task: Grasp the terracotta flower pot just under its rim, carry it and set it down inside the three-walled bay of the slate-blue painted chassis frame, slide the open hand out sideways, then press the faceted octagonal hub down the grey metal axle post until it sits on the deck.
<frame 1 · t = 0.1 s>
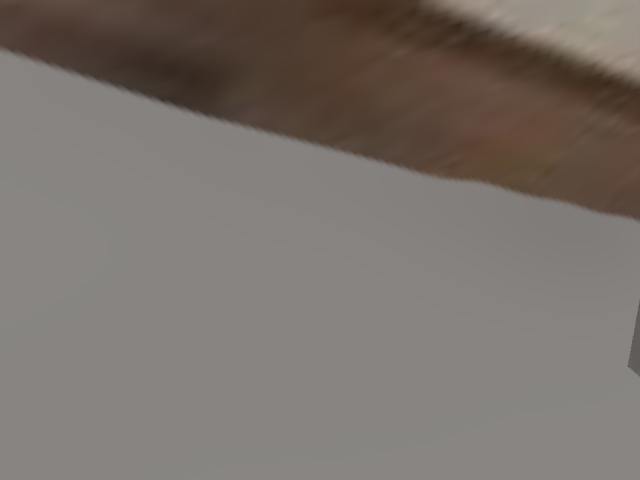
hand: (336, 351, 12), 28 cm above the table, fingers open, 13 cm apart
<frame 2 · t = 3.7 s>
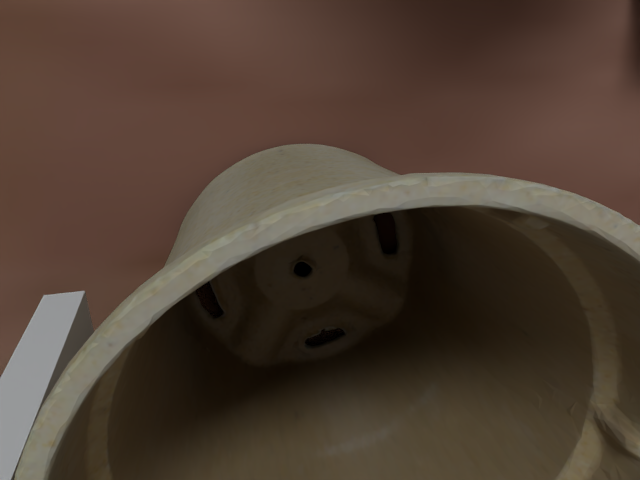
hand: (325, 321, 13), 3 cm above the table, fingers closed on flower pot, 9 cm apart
flower pot: (300, 259, 16), on the table, touching gripper
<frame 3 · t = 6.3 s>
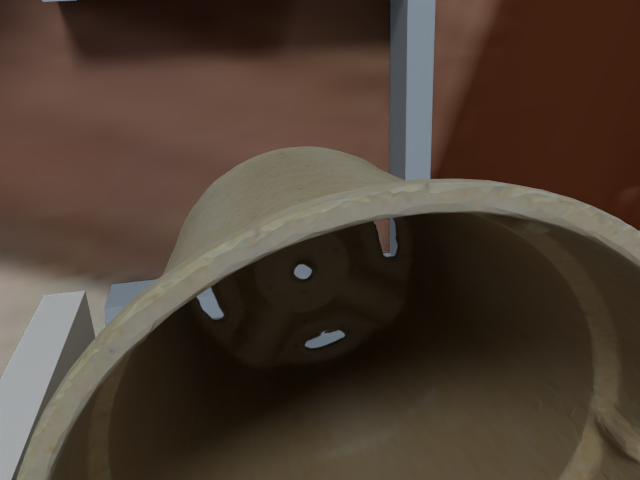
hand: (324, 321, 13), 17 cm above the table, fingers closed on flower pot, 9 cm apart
flower pot: (301, 261, 16), point 14 cm above the table, touching gripper
chassis: (264, 230, 30), on the table
when the fingers open (4 cm above the table, at t = 9.1 s): flower pot stays where it is, on the table.
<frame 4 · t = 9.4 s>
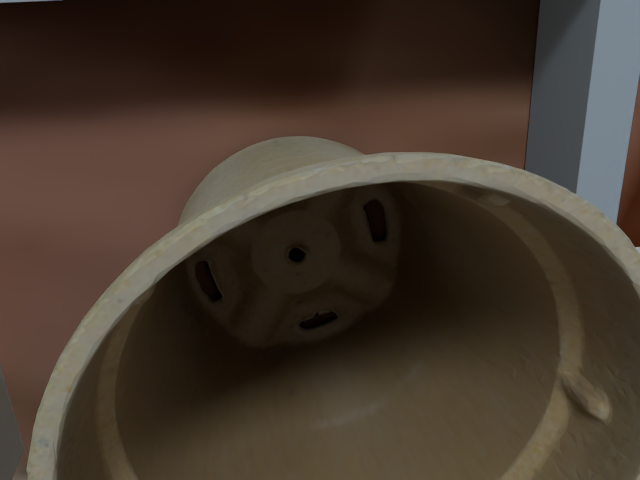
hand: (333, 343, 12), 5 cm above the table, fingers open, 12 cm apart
flower pot: (295, 246, 17), on the table
chassis: (305, 386, 18), on the table
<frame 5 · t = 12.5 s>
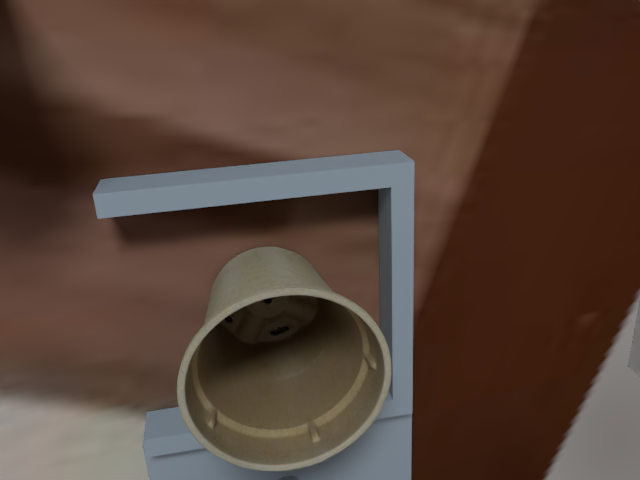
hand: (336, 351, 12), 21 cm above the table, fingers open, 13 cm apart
flower pot: (267, 294, 34), on the table
chassis: (274, 363, 36), on the table
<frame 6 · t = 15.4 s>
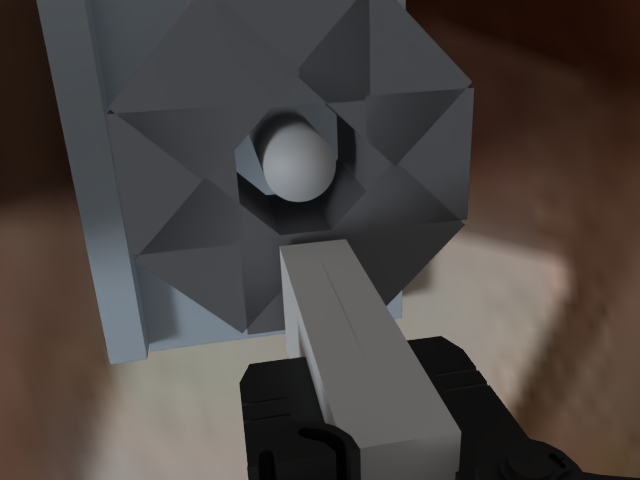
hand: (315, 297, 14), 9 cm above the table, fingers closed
chassis: (14, 125, 19), on the table
faceted octagonal hub: (292, 155, 14), point 7 cm above the table, slide at 3.9 cm, touching gripper
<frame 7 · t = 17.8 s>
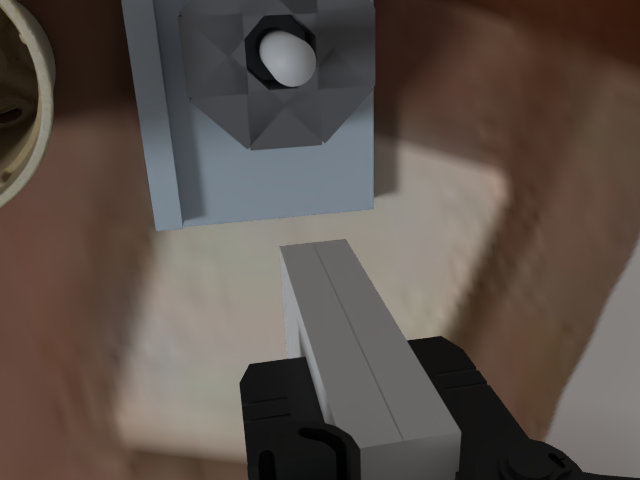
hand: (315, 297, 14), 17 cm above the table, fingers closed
chassis: (89, 53, 27), on the table
faceted octagonal hub: (277, 49, 25), point 3 cm above the table, slide at 0.0 cm, touching chassis
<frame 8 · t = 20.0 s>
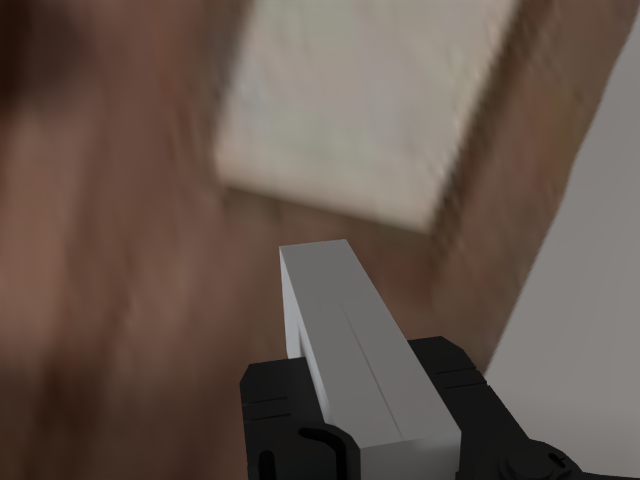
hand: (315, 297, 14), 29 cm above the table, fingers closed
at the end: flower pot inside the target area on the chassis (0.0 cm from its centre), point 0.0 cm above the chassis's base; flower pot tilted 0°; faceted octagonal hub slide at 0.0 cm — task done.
